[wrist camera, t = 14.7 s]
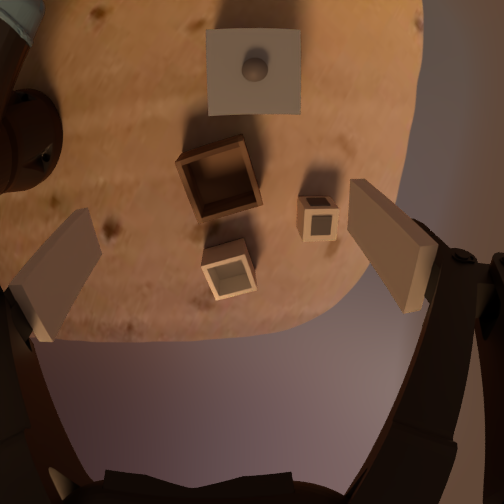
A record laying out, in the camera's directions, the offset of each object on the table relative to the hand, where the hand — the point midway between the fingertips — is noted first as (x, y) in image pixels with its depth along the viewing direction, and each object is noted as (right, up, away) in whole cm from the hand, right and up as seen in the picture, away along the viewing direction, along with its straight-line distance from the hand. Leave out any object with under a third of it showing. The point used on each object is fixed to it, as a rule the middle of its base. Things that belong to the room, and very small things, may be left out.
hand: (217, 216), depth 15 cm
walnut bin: (-2, +9, +24) cm, 26 cm away
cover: (+1, +20, +18) cm, 27 cm away
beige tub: (-2, -3, +31) cm, 31 cm away
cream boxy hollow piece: (+10, +4, +28) cm, 30 cm away
